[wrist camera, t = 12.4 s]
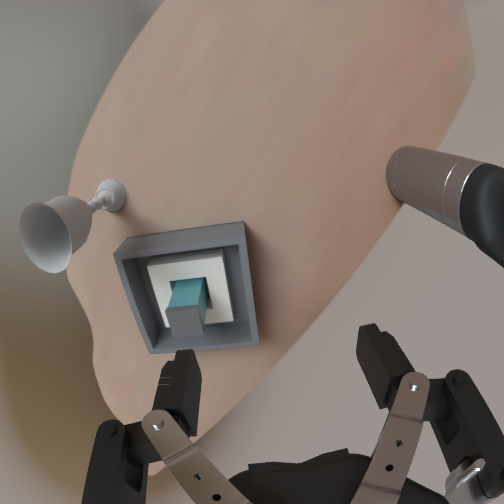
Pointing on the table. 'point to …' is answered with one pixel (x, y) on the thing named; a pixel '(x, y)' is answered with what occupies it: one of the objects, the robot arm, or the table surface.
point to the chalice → (64, 225)
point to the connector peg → (188, 307)
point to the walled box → (186, 267)
